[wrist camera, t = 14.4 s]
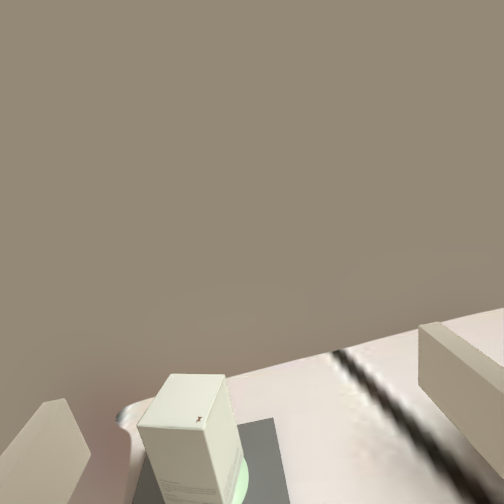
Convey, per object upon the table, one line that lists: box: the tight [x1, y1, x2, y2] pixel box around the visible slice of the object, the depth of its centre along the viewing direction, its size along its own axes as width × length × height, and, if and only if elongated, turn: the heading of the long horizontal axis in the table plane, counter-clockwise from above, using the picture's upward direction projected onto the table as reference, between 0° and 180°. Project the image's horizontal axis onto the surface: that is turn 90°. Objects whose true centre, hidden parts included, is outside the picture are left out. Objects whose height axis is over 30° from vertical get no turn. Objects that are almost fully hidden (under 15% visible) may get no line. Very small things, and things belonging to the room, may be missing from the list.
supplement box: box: [137, 374, 244, 504], centre depth 31 cm, size 7×7×13 cm
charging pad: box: [132, 418, 290, 504], centre depth 33 cm, size 18×14×1 cm
